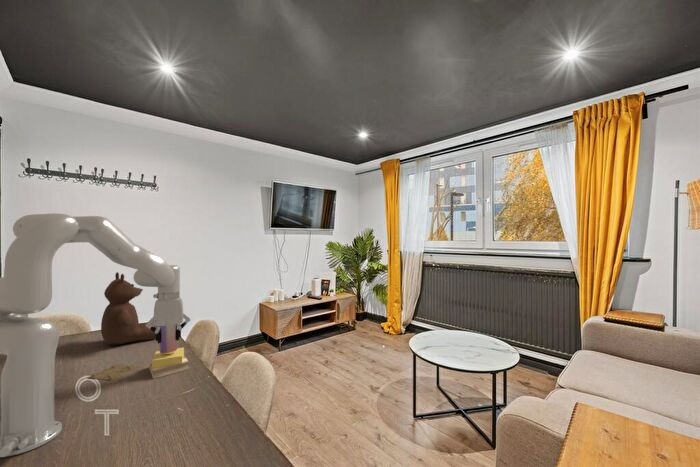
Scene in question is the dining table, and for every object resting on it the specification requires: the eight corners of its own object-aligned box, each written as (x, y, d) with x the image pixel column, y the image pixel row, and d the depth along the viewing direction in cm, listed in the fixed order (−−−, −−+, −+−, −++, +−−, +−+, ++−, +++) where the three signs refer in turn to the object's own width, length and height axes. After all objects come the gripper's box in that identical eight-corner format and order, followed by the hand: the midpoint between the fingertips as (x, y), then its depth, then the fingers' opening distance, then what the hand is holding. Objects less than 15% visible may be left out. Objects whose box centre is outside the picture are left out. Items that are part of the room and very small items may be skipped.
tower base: (188, 369, 118) (188, 361, 118) (153, 378, 111) (153, 370, 111) (182, 359, 127) (182, 352, 127) (148, 367, 120) (148, 360, 120)
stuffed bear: (166, 341, 151) (167, 272, 151) (109, 354, 133) (111, 276, 134) (147, 329, 169) (148, 268, 170) (95, 339, 152) (97, 271, 153)
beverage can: (157, 355, 115) (157, 316, 115) (162, 349, 121) (162, 313, 121) (174, 353, 117) (174, 315, 117) (178, 348, 123) (179, 312, 123)
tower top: (182, 363, 117) (182, 355, 117) (151, 368, 112) (151, 360, 112) (183, 354, 126) (183, 347, 126) (155, 358, 121) (156, 351, 121)
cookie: (112, 382, 109) (112, 379, 109) (86, 379, 111) (86, 376, 111) (141, 368, 120) (141, 365, 120) (116, 365, 123) (116, 363, 123)
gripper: (142, 300, 112) (141, 348, 111) (193, 295, 120) (193, 339, 120) (143, 296, 118) (143, 342, 118) (192, 292, 127) (192, 334, 127)
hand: (168, 340), depth 119 cm, fingers closed on beverage can, 5 cm apart
